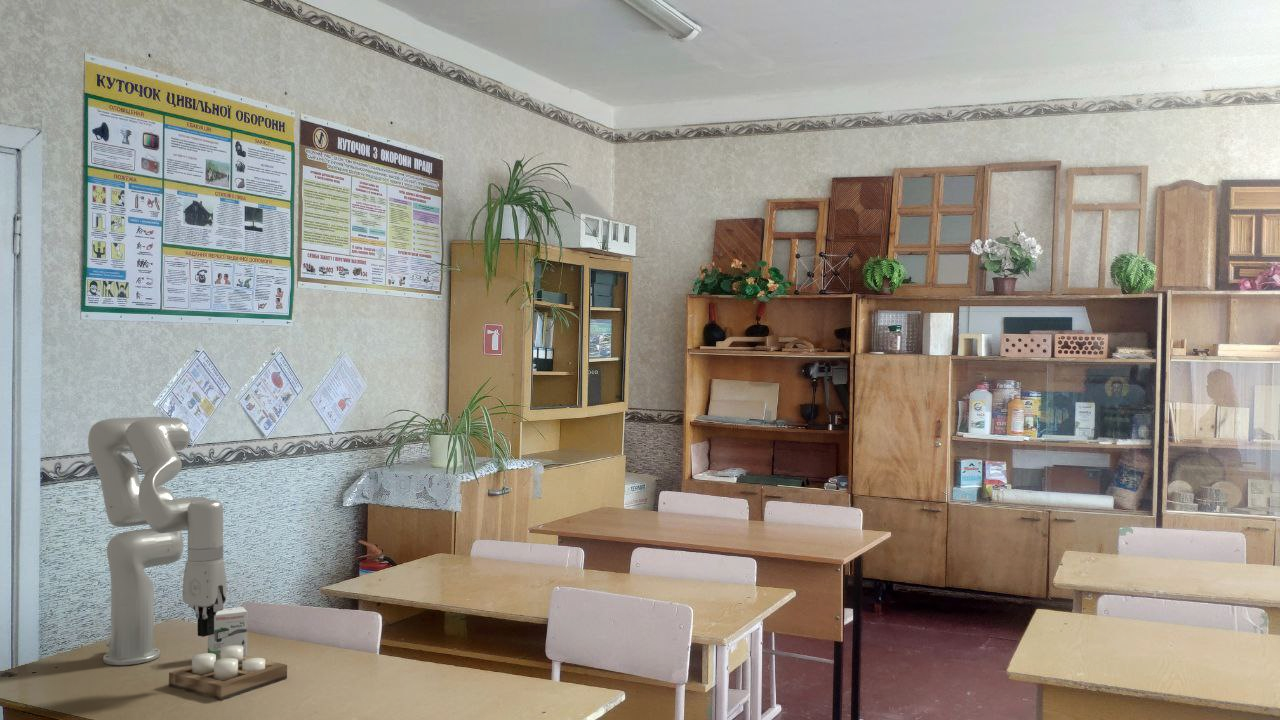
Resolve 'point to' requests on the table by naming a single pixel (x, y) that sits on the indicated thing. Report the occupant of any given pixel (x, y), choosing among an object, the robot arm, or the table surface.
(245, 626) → the ink box
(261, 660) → the button
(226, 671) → the button
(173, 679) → the button board
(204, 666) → the button
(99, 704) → the table surface
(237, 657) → the button
